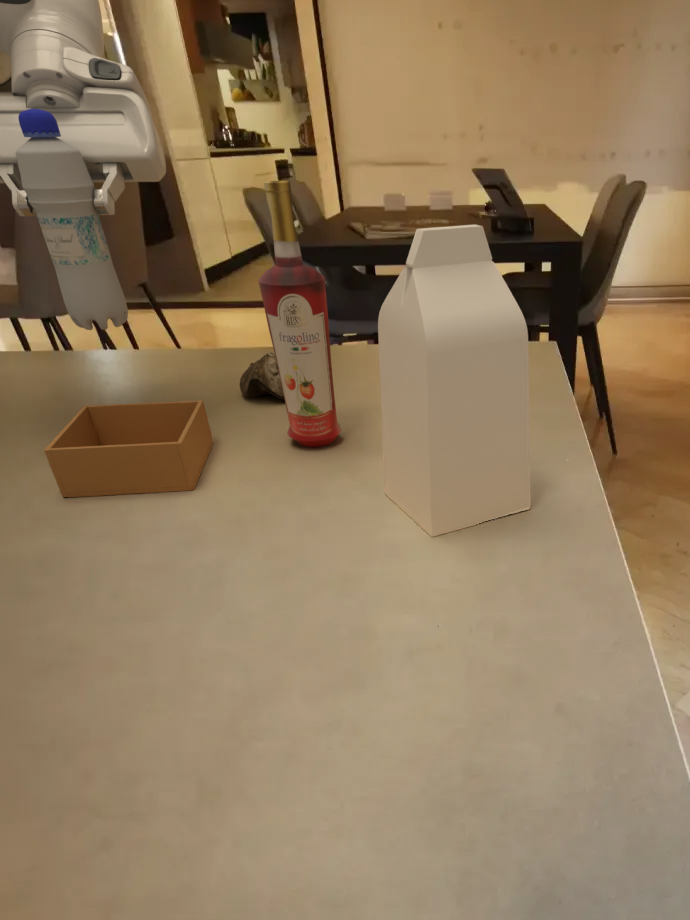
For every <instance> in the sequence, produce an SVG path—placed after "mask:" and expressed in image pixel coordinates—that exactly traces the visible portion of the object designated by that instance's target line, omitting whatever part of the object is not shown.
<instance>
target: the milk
mask: <svg viewBox="0 0 690 920" xmlns="http://www.w3.org/2000/svg"><path fill="white" fill-rule="evenodd" d="M377 336H378V337H377V338H378V360H379V361H378V363H379V387H380V388H379V389H380V411H381V414H380V415H381V435H382V439H381V440H382V463H383V482H384V483H383V486H384V489H383V490H384V495H385V496H386V497H388V499H389V500H391V501H392V502H393V503H394V504H395V505H396V506H397V507H398V508H400V509H401V510H402V511H403V512H404V514H406V515H407V516H408V517H409V518H410V519H411V520H412V521H413V522H414V523H416V524H417V525H418V526H419V527H420V528H421V529H422V530H423V531H425V533H427V535H429V536H430V537H431V538H433V537H437V536H440V535H445V534H448V533H451V532H455V531H459V530H462V529H466V528H469V527H473V526H477V525H480V524H479V523H481V524H483V523H482V522H484V521H488V520H490V519H493V518H496V517H499V516H503V515H505V514H508V513H510V512H514V511H517V510H520V509H523V508H526V507H530V506H531V507H532V503H531V502H532V500H531V499H532V498H531V495H532V494H531V492H532V491H531V489H532V488H531V438H530V437H531V434H530V431H531V430H530V429H531V428H530V372H529V371H530V370H529V369H530V366H529V365H530V364H529V332H528V326H527V322H526V318H525V316H524V314H523V311H522V309H521V308H520V306H519V304H518V302H517V300H516V298H515V296H514V295H513V293H512V291H511V290H510V288H509V286H508V283H507V282H506V281H505V279H504V277H503V276H502V274H501V272H500V270H499V268H498V267H497V265H496V263H495V262H494V261H493V255H492V252H491V249H490V246H489V242H488V239H487V236H486V232H485V229H484V226H483V225H480V224H463V225H450V226H437V227H423V228H422V227H421V228H416V229H415V233H414V236H413V239H412V242H411V246H410V248H409V251H408V255H407V258H406V261H405V266H404V267H403V269H402V270H401V272H400V274H399V275H398V277H397V279H396V280H395V282H394V283H393V285H392V287H391V289H390V290H389V292H388V293H387V295H386V297H385V299H384V301H383V303H382V305H381V307H380V310H379V314H378V319H377ZM488 522H489V521H488ZM484 523H485V522H484ZM476 524H477V525H476Z"/></svg>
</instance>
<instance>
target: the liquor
mask: <svg viewBox="0 0 690 920" xmlns="http://www.w3.org/2000/svg"><path fill="white" fill-rule="evenodd" d="M263 185H264V192H265V197H266V202H267V206H268V209H269V213H270V217H271V227H272V236H273V237H272V240H273V250H274V261H275V262H274V263H275V265H273V266H271V267H269V269H266V270H265V271H264V273H262V275H261V276H260V277H259V279H257V281H258V285H259V290H260V294H261V299H262V304H263V308H264V313H265V319H266V322H267V328H268V332H269V336H270V340H271V345H272V348H273V353H274V354H275V357H276V361H277V366H278V370H279V375H280V380H281V385H282V389H283V394H284V399H283V400H284V404H285V409H286V414H287V419H288V423H289V427H288V429H287V432H286V434H287V436H288V437H289V438H291V439H292V440H293V441H295V442H296V443H298V444H299V445H300V446H302V447H306V448H322V447H326V446H328V445H330V444H332V443H334V441H335V440H336V439H337V438H338V436H339V435H340V434H341V432H342V430H343V429H342V427H341V425H340V424H339V422H338V416H337V407H336V398H335V389H334V388H335V387H334V378H333V377H334V376H333V366H332V354H331V353H332V351H331V337H330V336H331V335H330V324H329V313H328V311H329V310H328V302H327V291H326V290H327V289H326V280H325V279H326V278H325V276H324V275H322V273H320V272H319V271H318V270H317V269H316V268H313V267H312V266H309V265H307V264H305V263H304V261H303V257H302V252H301V248H300V243H299V237H298V235H297V229H296V225H295V221H294V214H293V212H294V211H293V206H294V205H293V202H294V200H293V193H292V187H291V181H290V180H267V181H263Z"/></svg>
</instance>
